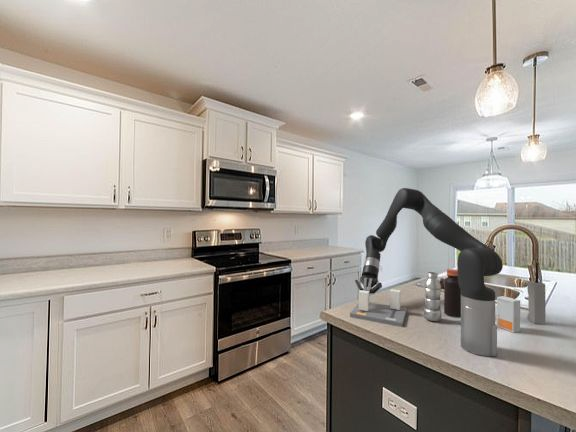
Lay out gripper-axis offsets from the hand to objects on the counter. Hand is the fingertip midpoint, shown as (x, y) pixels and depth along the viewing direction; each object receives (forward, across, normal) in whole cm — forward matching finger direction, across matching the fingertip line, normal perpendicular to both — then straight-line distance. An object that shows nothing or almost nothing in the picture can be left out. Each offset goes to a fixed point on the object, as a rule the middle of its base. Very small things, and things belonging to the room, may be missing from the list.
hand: (365, 300), depth 120 cm
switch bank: (+3, +6, +5) cm, 8 cm away
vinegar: (-8, +35, +16) cm, 39 cm away
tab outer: (+4, 0, +1) cm, 4 cm away
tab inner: (-2, +12, +8) cm, 14 cm away
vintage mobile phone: (-13, +65, +22) cm, 70 cm away
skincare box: (-3, +53, +11) cm, 54 cm away
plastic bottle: (+1, +27, +8) cm, 28 cm away
